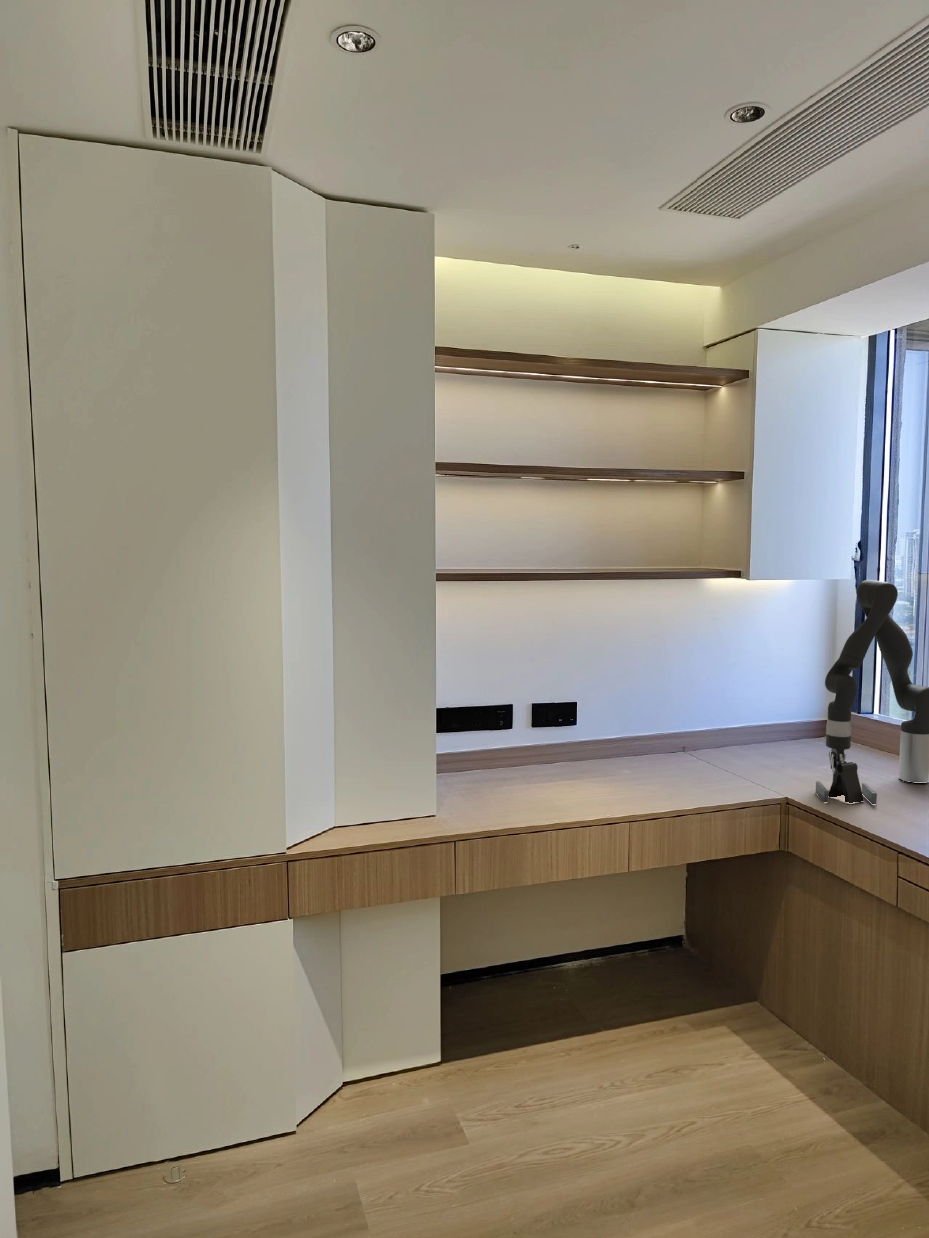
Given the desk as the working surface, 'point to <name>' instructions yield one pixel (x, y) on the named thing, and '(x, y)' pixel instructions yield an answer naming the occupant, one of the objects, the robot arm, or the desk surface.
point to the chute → (866, 791)
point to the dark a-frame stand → (846, 783)
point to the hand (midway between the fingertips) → (836, 784)
